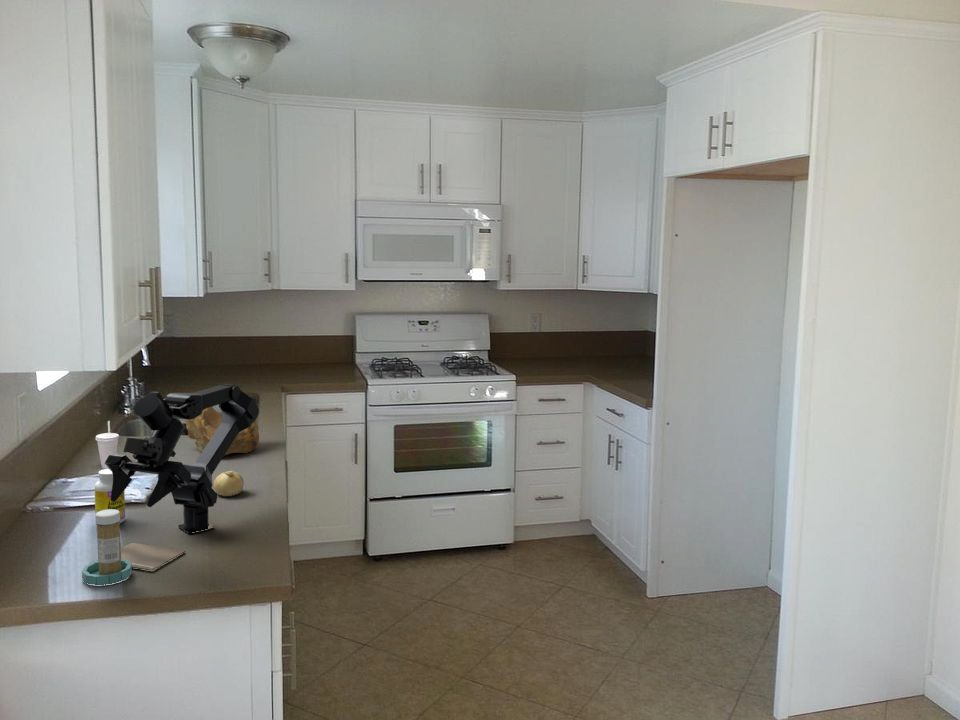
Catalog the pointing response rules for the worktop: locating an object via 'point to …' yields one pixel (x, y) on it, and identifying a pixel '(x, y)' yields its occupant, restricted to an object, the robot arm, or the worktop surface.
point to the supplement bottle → (108, 495)
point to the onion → (228, 483)
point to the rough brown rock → (209, 423)
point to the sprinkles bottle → (108, 541)
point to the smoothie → (107, 445)
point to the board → (147, 555)
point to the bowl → (92, 575)
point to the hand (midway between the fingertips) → (130, 503)
